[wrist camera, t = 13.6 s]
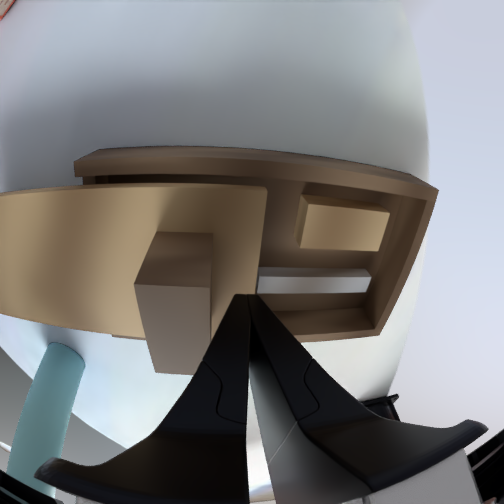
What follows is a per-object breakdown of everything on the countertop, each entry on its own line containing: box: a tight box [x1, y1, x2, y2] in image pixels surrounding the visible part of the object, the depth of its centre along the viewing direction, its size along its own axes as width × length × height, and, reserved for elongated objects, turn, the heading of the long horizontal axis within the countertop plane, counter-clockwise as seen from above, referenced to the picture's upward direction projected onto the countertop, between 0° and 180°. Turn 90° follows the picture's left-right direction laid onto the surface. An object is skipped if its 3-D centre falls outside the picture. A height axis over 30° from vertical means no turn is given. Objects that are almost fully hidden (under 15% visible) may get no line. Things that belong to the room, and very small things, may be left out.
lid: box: [0, 183, 268, 375], centre depth 8 cm, size 15×7×4 cm, turn 84°
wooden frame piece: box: [74, 146, 439, 343], centre depth 12 cm, size 15×9×2 cm, turn 84°
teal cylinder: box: [6, 343, 85, 498], centre depth 11 cm, size 4×4×13 cm
